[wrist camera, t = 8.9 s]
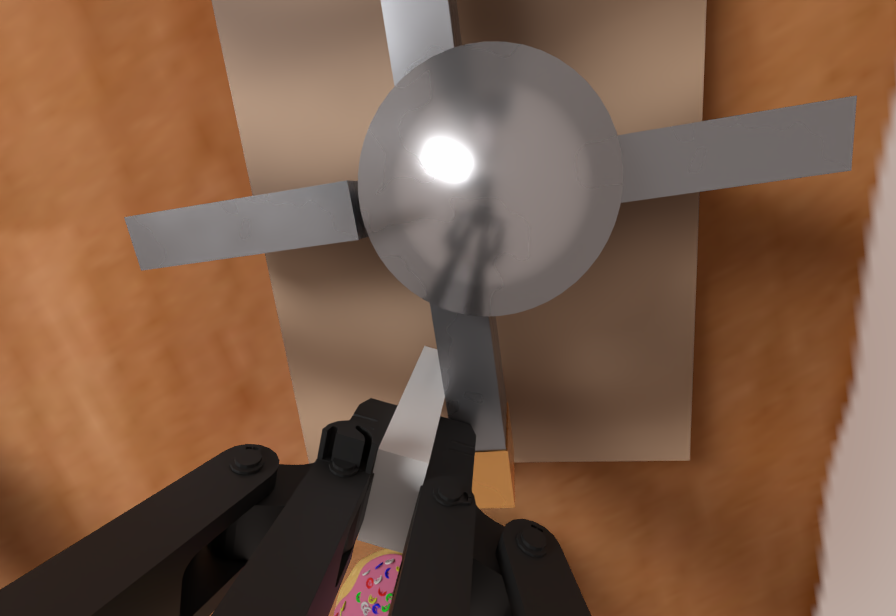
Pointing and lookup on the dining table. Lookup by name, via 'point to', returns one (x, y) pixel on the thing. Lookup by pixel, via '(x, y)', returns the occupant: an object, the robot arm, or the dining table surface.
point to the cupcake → (370, 585)
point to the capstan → (494, 195)
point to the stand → (520, 335)
